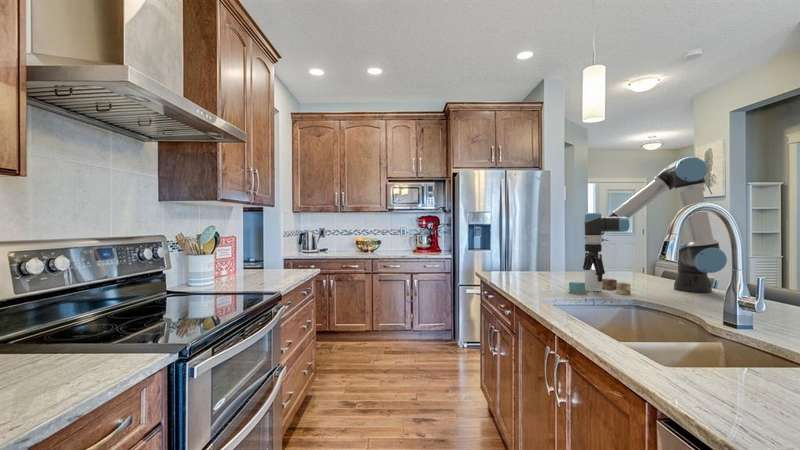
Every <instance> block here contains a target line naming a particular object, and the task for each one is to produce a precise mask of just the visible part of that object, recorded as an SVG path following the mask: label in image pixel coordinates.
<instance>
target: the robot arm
mask: <svg viewBox="0 0 800 450" xmlns="http://www.w3.org/2000/svg"><path fill="white" fill-rule="evenodd" d="M707 173H708V166H707V164H706V162H705V161H704V160H703V159H701V158H700V157H696V156H686V157H682V158H680V159H678V160H675V161H673V162H671V163H669V164H668V165H667V166H666V167H664V168H663V170H661V171H660V172H659V173H658V174H656V175H655V176H654V177H653V180H652V181H651V182H650V183H649V184H647V185H646V186H644V187H643V188H642V189H641V190H640V191H638V192H637V193H635V194H634V195H633V196H631V197H630V198H629V199H627V200H626V201H625V202H624V203H622V204H621V205H620V206H618V207H617V208H616V209H615V210H613V211H612V212H610V214H608V215H607V216H602V213H600V212H587V213H585V215H584V222H583V223H584V237H583V239H584V251H585V253H584V262H583V266H582V270H583V271H584V272H585V270H592V267H593V266H594V270H596V274H595V275H596V288H601V289H603V282H602V279H603V275H605V274H606V271H605V268H604V262H603V257H602V256H603V255H602V254H601V252H602V251H603V249H602V247H603V246H602V242H603V240H602V238H603V235H602V233H605V232H606V233H611V232H612V233H614V232H615V233H622V232H624V233H627V232H629V229H630V218H631V217H633V216H634V215H636V214H637V213H638V212H639V211H641V210H642V209H644V208H645V207H647V206H648V205H649V204H650V203H652V202H653V201H655V200H656V199H657V198H658V197H660V196H661V195H662V194H664V193H665V192H670V191H671V190H673V189H675V190H676V191H678V192H679V194H680V200H681V204H682V205H681V206H682V208H683V207H685V206H687V205H690V204H693V203H697V202H705V203H706V198H705V195H704V190H703V187H704V186H706V178H705V176H706V175H707ZM710 222H711V221H710V216H709V213H708V211H707V212H698V213H695V214H693V215H692V216H690V217H689V218H688V219H687V220H686V219H685V223H686V227H687V233H688V238H689V241H688V243H680V244H679V245H680V249H679V260H678V259H677V276H676V277H675V280H674V282H673V289H674V290H677V291H684V292H689V293H712V292H713V286H712V283H711V282H710V279H709V277H708V274H709V273H710V274H713V273H714V274H715V273H718V272H720V271H721V270H723V269H724V268H725V267H726V265H727V262H728V257H727V255H726V253H725V252H724V251H723V250H722V249H721V248H720V243H719V241H718V240H716V239H715V238H714V236H713V231H712V226H711V223H710ZM599 253H600V254H599Z"/></svg>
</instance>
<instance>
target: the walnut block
mask: <svg viewBox="0 0 800 450" xmlns="http://www.w3.org/2000/svg"><path fill="white" fill-rule="evenodd" d="M602 282H603V288H604V289H603V288H602V289H603V290H606V289H607V291H611V290H613V291H614V290H615V291H617V285H616V282H618V280H617V279H614V278H602Z"/></svg>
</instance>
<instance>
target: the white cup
mask: <svg viewBox="0 0 800 450" xmlns="http://www.w3.org/2000/svg"><path fill="white" fill-rule="evenodd" d="M595 274H596V270H595V269H591V270H585V271H584V283H585V291H587V292H593V291H599V292H601V291H602V288H596V275H595Z"/></svg>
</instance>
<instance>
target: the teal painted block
mask: <svg viewBox="0 0 800 450" xmlns="http://www.w3.org/2000/svg"><path fill="white" fill-rule="evenodd" d="M568 285H569V288H568V289H569V290H568V292H569V293H571V292H572V293H571V294H576V293H581V294H586V284H585V282H581V281H570V282H569V283H568Z"/></svg>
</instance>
